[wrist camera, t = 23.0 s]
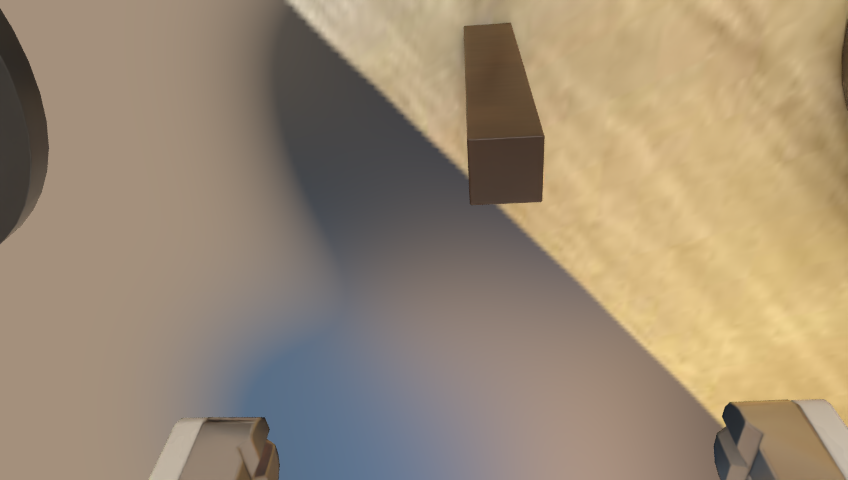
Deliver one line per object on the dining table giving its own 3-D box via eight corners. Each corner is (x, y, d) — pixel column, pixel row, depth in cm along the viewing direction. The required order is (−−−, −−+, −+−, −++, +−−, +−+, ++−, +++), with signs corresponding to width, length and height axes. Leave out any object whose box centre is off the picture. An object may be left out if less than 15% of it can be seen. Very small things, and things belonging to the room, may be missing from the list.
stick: (465, 72, 31) (469, 205, 20) (463, 25, 30) (467, 139, 18) (511, 69, 31) (542, 202, 19) (511, 22, 30) (544, 135, 18)
